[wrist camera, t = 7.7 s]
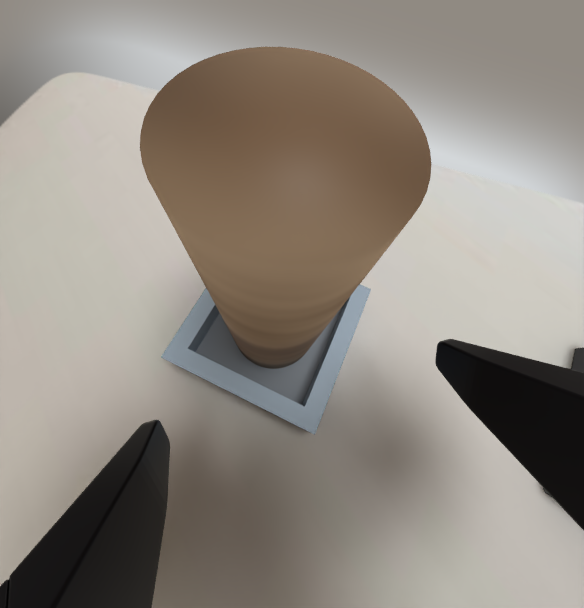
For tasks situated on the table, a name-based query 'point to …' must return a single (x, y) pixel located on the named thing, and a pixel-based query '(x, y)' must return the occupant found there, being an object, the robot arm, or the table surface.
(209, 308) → the collar
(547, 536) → the table surface
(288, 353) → the walnut pin
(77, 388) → the table surface
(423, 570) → the table surface
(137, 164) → the table surface
